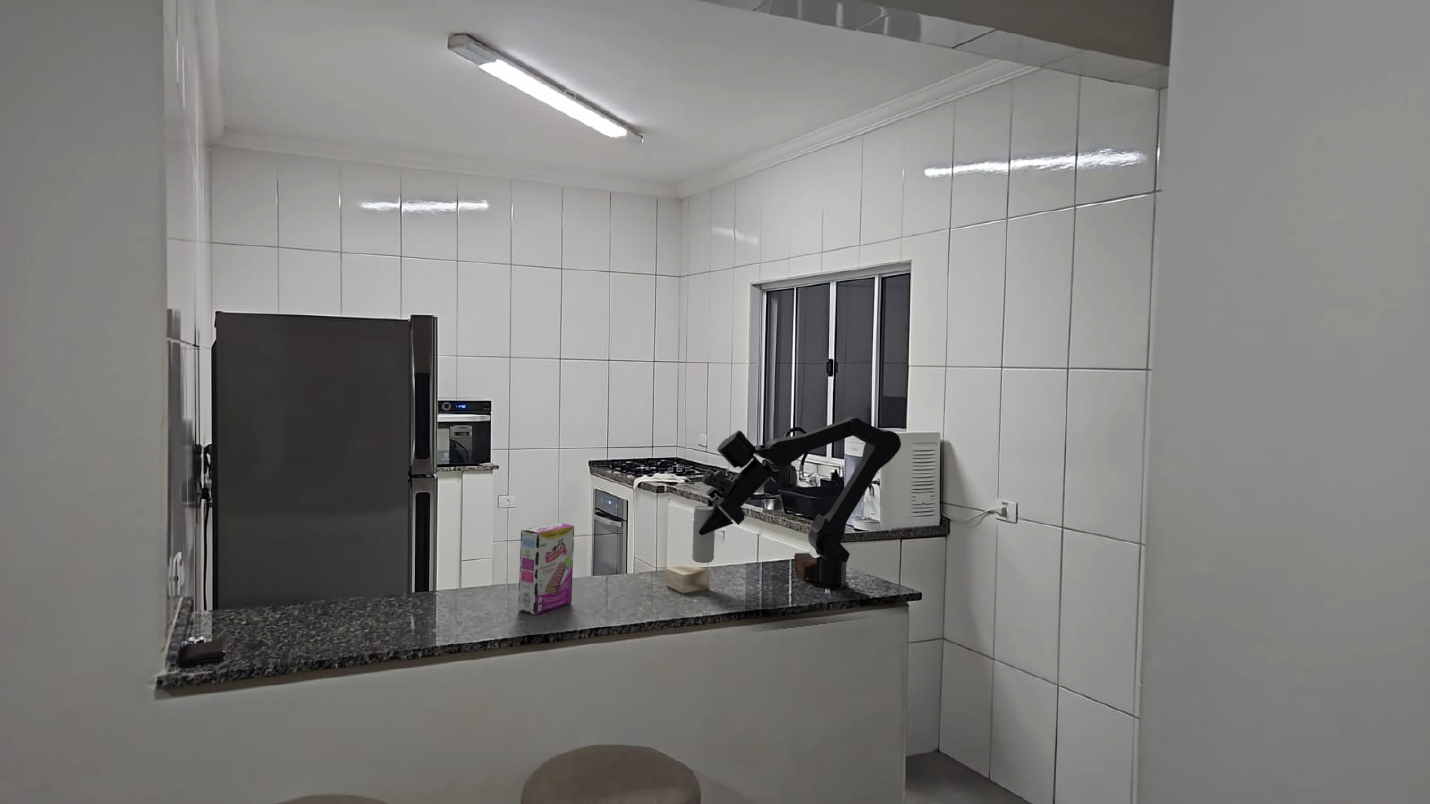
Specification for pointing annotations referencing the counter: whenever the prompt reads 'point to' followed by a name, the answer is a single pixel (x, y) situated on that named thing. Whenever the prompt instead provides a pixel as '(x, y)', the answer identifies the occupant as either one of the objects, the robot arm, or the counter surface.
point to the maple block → (687, 578)
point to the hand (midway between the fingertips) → (698, 531)
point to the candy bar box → (545, 568)
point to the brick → (804, 566)
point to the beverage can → (702, 536)
